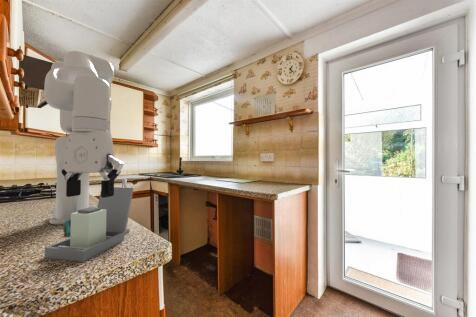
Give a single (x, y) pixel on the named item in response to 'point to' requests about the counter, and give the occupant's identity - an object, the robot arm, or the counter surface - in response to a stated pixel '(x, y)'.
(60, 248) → the case
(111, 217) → the lid
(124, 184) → the clear capped tube
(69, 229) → the digital multimeter
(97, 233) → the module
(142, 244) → the counter surface
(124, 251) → the counter surface
